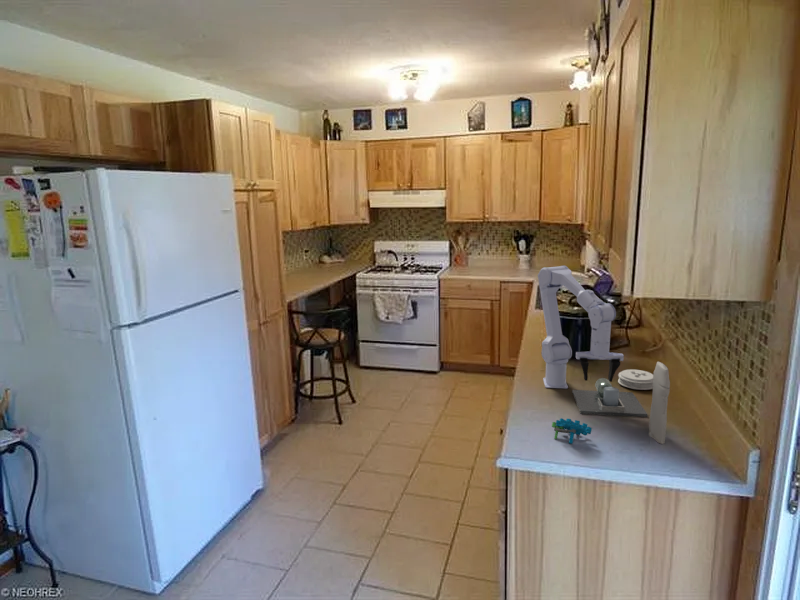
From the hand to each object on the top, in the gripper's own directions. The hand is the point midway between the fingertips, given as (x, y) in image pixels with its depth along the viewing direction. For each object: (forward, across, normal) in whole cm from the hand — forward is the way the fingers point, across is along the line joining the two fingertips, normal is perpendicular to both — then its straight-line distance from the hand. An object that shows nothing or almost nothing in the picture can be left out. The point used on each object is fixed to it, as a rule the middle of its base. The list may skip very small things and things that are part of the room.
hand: (597, 380), depth 165 cm
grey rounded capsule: (+8, +4, -4) cm, 9 cm away
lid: (+9, +18, +20) cm, 28 cm away
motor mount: (+9, +4, +1) cm, 9 cm away
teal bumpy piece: (+9, -12, -26) cm, 30 cm away
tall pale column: (+9, +13, -21) cm, 26 cm away
